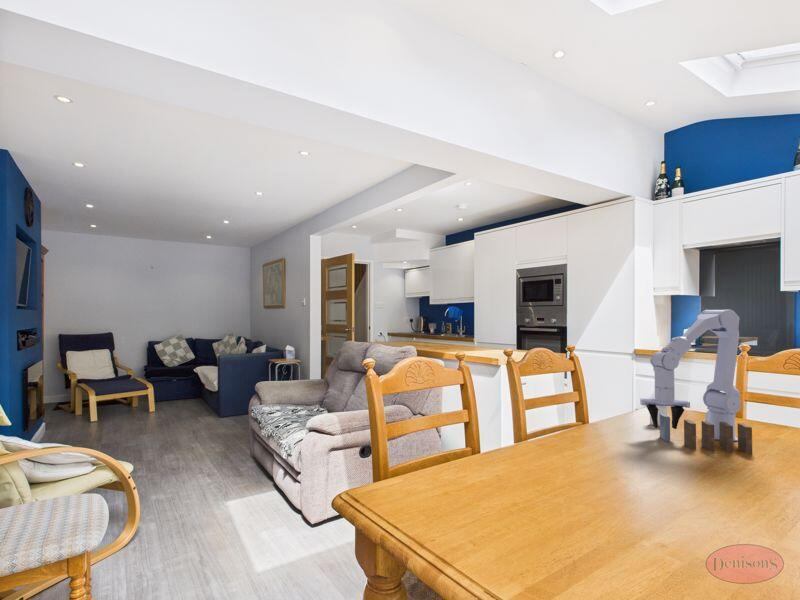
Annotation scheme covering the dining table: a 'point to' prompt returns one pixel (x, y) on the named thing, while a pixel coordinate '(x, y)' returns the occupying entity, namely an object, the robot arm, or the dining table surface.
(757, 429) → the dining table surface
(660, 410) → the eye dropper bottle
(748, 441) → the domino
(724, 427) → the domino
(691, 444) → the domino
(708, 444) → the domino
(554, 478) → the dining table surface
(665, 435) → the domino
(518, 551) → the dining table surface
